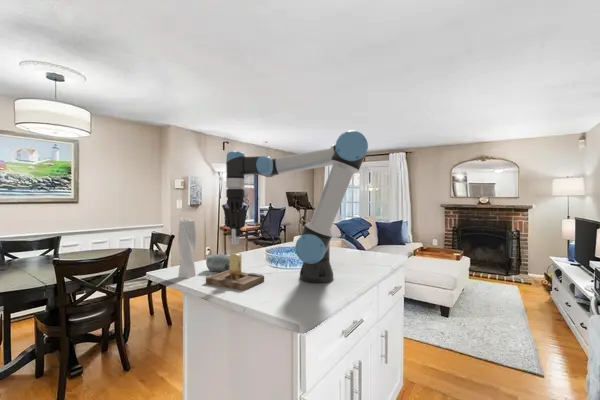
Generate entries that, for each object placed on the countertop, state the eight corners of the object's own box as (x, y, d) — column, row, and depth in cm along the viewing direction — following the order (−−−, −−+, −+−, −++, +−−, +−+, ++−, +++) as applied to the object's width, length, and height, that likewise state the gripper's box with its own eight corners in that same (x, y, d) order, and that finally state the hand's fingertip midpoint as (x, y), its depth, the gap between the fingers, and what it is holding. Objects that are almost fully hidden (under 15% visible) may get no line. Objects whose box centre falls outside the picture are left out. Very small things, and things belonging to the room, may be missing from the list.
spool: (239, 262, 146) (230, 247, 142) (231, 275, 137) (222, 259, 134) (218, 266, 150) (208, 251, 147) (209, 279, 142) (199, 264, 139)
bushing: (243, 281, 125) (243, 253, 124) (236, 284, 120) (236, 256, 120) (234, 280, 127) (234, 252, 127) (226, 283, 122) (226, 254, 122)
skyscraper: (173, 277, 130) (173, 215, 130) (184, 273, 138) (184, 214, 137) (188, 279, 128) (188, 215, 128) (199, 274, 135) (199, 214, 135)
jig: (264, 281, 125) (264, 274, 125) (243, 290, 113) (243, 282, 113) (228, 275, 134) (228, 268, 134) (205, 283, 122) (205, 276, 122)
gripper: (253, 188, 123) (253, 244, 124) (229, 189, 129) (229, 241, 130) (242, 188, 117) (242, 246, 117) (217, 188, 123) (217, 244, 123)
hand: (235, 244), depth 123 cm, fingers closed
